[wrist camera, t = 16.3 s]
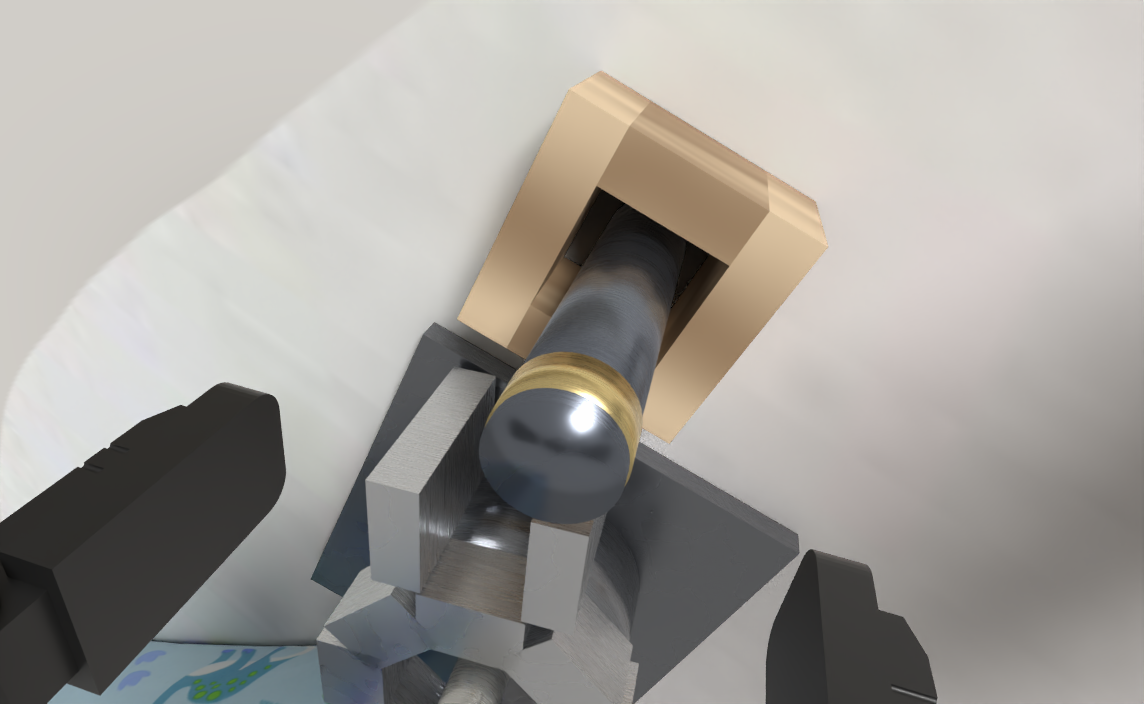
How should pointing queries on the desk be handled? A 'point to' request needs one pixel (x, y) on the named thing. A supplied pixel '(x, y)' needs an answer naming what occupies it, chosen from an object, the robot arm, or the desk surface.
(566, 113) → the holder
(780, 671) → the robot arm
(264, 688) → the lunch bag
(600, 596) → the chuck base
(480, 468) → the grey cube ring
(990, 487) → the desk surface
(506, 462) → the dark grey cylinder
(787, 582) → the desk surface
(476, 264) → the desk surface
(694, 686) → the desk surface
